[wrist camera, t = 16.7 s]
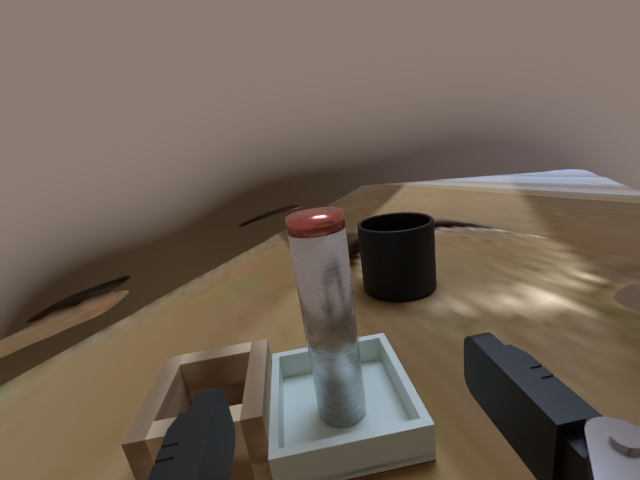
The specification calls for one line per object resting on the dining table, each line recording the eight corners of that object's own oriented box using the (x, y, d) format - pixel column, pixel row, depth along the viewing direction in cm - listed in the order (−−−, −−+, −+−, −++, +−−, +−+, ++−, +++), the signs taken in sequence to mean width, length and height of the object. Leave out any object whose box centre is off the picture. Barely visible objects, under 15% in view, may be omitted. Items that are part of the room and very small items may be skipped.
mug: (441, 266, 47) (439, 206, 45) (431, 306, 37) (428, 231, 35) (379, 264, 52) (374, 209, 49) (354, 299, 41) (346, 232, 39)
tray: (385, 359, 30) (383, 332, 29) (436, 459, 20) (434, 424, 19) (278, 380, 29) (272, 354, 28) (276, 495, 19) (268, 460, 19)
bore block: (277, 388, 28) (267, 338, 26) (276, 478, 20) (261, 416, 19) (184, 407, 27) (168, 357, 26) (146, 507, 20) (121, 444, 18)
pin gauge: (360, 386, 26) (337, 204, 22) (372, 422, 23) (348, 215, 18) (316, 395, 26) (284, 212, 21) (321, 433, 22) (285, 225, 18)
